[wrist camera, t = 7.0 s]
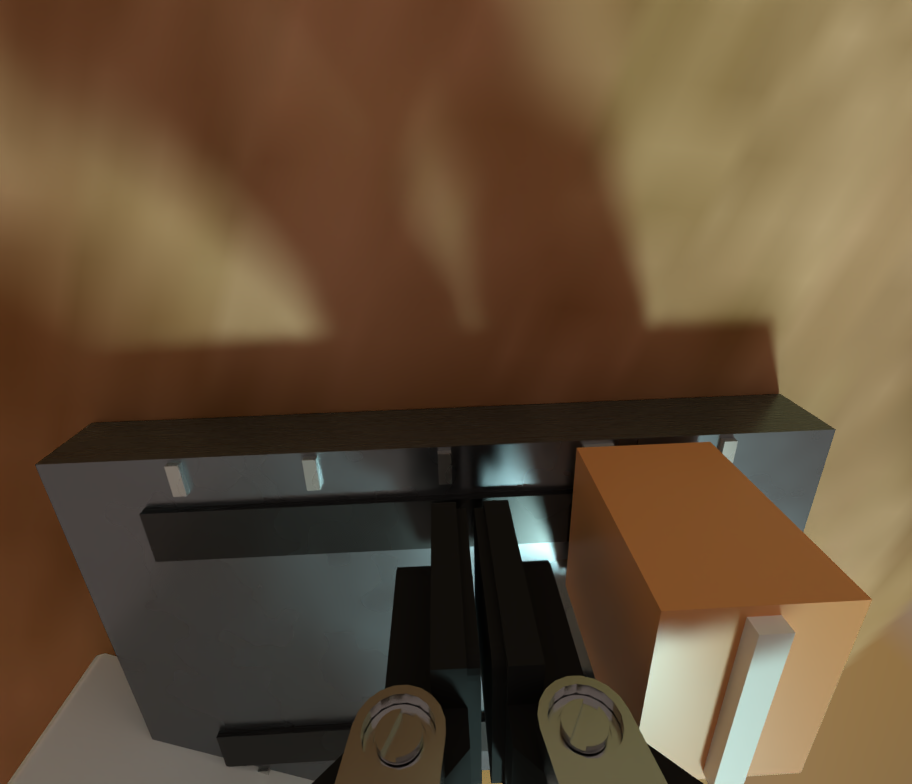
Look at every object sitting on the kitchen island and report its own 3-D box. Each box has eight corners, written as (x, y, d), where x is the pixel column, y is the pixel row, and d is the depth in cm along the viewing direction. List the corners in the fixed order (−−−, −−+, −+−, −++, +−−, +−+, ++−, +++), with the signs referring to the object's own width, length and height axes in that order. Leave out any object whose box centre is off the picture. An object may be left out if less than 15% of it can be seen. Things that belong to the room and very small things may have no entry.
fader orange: (576, 447, 11) (670, 629, 7) (710, 441, 11) (890, 617, 7) (565, 585, 13) (635, 804, 8) (682, 579, 13) (812, 792, 8)
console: (91, 422, 13) (28, 469, 11) (780, 394, 13) (841, 433, 11) (200, 725, 18) (170, 796, 16) (702, 696, 18) (736, 761, 16)
